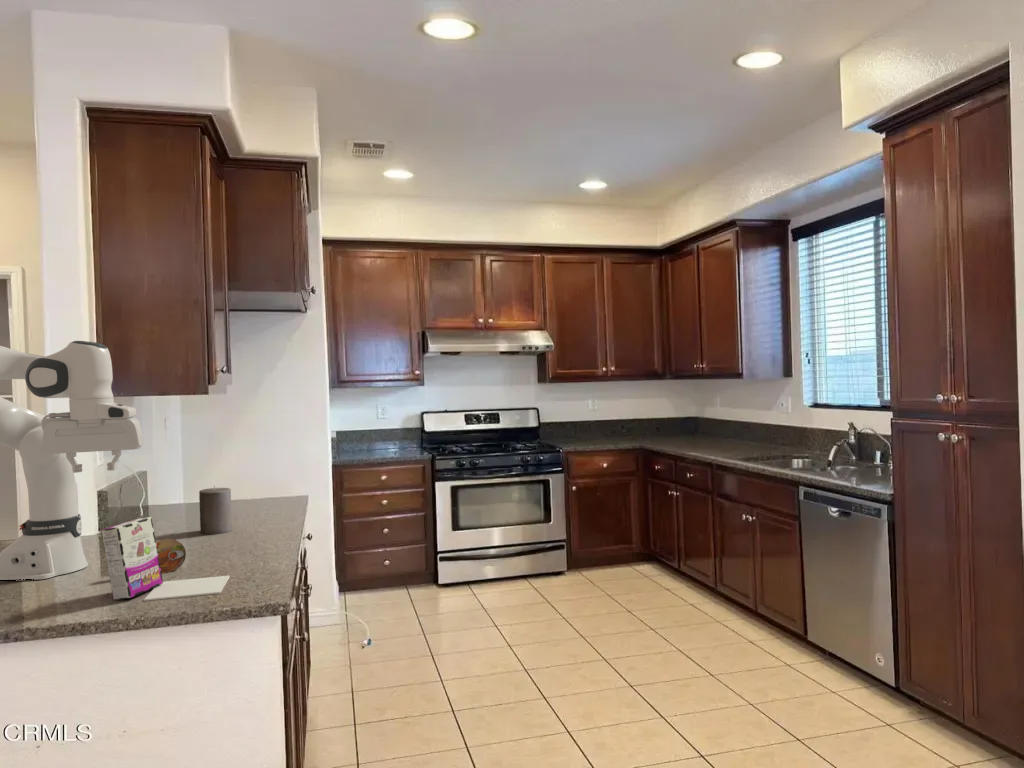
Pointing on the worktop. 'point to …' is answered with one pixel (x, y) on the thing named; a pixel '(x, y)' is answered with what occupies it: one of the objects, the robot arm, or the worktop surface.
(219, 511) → the pillar candle
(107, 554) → the candy bar box
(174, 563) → the tin
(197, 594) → the mat
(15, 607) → the worktop surface
